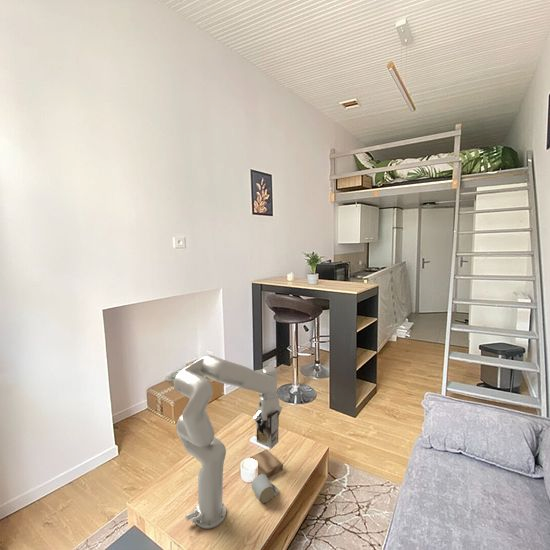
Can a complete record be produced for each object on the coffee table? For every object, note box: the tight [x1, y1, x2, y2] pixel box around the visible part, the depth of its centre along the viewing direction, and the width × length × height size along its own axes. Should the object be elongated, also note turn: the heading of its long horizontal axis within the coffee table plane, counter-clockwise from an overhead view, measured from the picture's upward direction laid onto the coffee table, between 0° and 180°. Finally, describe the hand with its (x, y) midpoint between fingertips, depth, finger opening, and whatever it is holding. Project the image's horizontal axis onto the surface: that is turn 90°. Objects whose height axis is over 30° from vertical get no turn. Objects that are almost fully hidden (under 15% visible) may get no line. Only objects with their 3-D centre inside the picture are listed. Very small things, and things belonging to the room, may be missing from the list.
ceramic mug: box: [251, 473, 279, 504], centre depth 133 cm, size 11×8×8 cm
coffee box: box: [255, 409, 280, 449], centre depth 148 cm, size 9×6×16 cm
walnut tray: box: [250, 449, 284, 479], centre depth 150 cm, size 10×13×3 cm
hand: (267, 428), depth 148 cm, fingers closed on coffee box, 7 cm apart
